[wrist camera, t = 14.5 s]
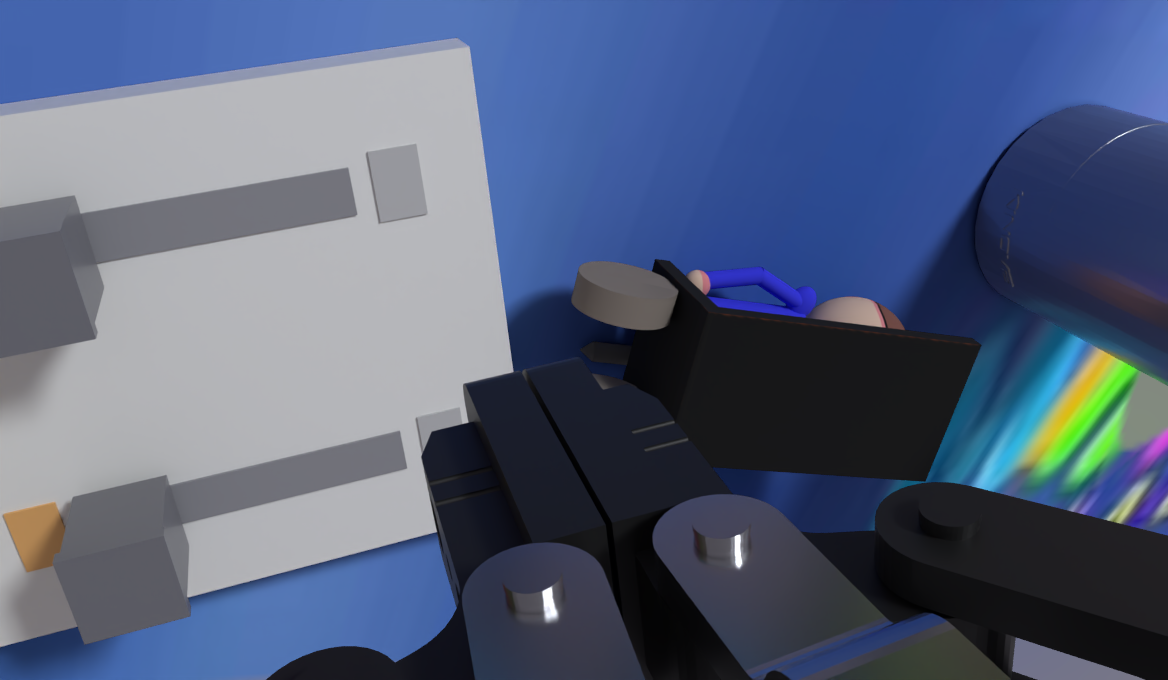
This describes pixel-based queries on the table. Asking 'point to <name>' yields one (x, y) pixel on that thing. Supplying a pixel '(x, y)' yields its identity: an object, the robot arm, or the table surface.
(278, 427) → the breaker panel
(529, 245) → the table surface
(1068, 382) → the table surface
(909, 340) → the black toy car
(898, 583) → the robot arm
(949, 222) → the table surface
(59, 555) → the on handle
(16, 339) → the handle
